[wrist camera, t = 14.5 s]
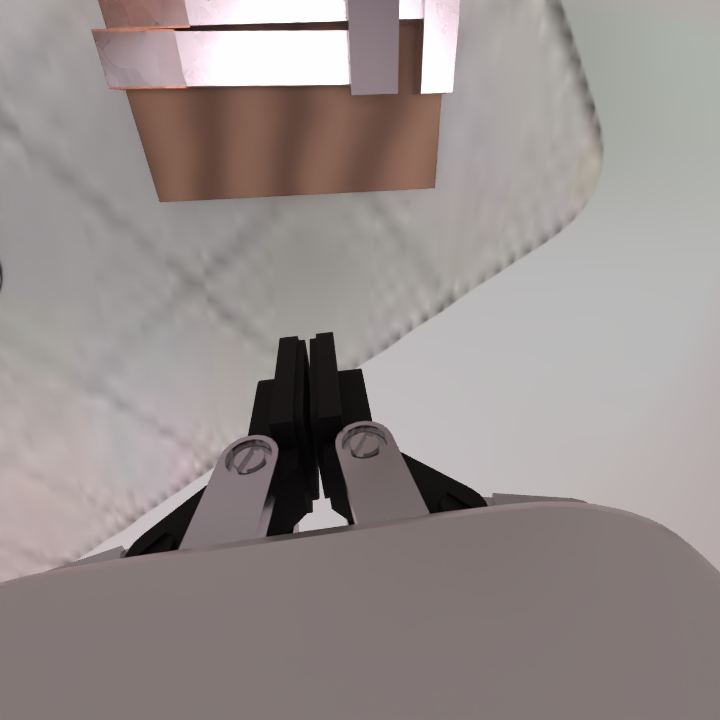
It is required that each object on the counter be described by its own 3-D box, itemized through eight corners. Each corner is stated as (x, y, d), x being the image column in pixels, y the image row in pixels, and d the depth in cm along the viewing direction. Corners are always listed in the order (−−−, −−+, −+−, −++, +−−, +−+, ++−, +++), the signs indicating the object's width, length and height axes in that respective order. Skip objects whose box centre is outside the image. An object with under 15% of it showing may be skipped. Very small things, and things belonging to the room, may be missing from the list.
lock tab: (350, 95, 26) (351, 95, 24) (343, -63, 22) (345, -74, 20) (394, 94, 26) (397, 93, 24) (396, -64, 22) (400, -75, 20)
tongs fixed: (144, 105, 28) (126, 104, 25) (106, -27, 24) (80, -43, 21) (441, 93, 29) (452, 92, 26) (450, -35, 25) (464, -51, 22)
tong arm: (124, 90, 27) (109, 88, 25) (108, 35, 25) (91, 29, 24) (389, 87, 28) (393, 85, 26) (390, 34, 26) (395, 28, 25)
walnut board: (164, 199, 32) (159, 201, 31) (89, -54, 24) (79, -61, 23) (431, 185, 33) (434, 188, 32) (447, -61, 25) (452, -68, 24)
